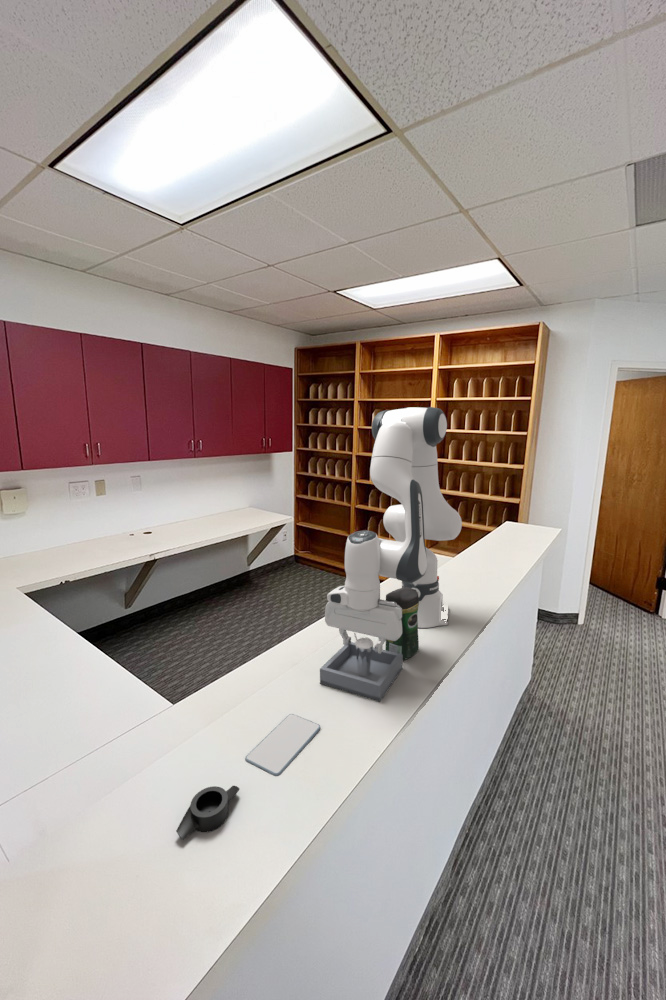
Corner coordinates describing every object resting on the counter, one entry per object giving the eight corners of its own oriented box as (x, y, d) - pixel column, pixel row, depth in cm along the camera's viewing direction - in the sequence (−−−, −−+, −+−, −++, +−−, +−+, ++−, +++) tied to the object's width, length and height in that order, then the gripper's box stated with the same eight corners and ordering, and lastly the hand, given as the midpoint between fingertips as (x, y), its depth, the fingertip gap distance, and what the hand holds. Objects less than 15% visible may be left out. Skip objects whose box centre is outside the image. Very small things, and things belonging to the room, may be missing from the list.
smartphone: (243, 758, 78) (290, 712, 91) (243, 762, 78) (290, 716, 91) (277, 775, 74) (322, 725, 87) (277, 780, 74) (322, 729, 87)
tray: (348, 654, 117) (348, 641, 116) (402, 668, 109) (402, 654, 109) (320, 683, 103) (319, 668, 102) (379, 702, 95) (379, 686, 95)
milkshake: (359, 664, 109) (359, 629, 108) (376, 671, 106) (376, 635, 104) (349, 672, 106) (349, 635, 104) (366, 679, 102) (366, 642, 101)
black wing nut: (244, 828, 65) (243, 812, 64) (176, 849, 61) (175, 832, 61) (239, 789, 72) (238, 774, 71) (178, 806, 69) (177, 790, 68)
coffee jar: (400, 642, 124) (400, 582, 121) (422, 651, 118) (424, 589, 116) (380, 654, 117) (380, 591, 114) (403, 664, 111) (404, 598, 109)
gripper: (406, 599, 101) (405, 652, 103) (333, 586, 110) (333, 634, 112) (397, 608, 95) (397, 664, 97) (321, 593, 105) (322, 644, 107)
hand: (362, 648), depth 105 cm, fingers open, 7 cm apart
